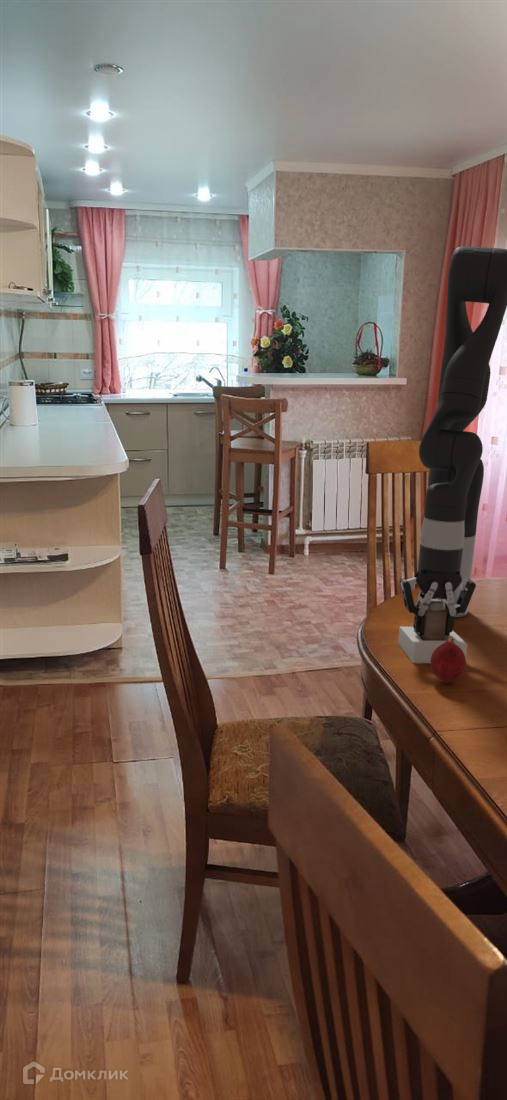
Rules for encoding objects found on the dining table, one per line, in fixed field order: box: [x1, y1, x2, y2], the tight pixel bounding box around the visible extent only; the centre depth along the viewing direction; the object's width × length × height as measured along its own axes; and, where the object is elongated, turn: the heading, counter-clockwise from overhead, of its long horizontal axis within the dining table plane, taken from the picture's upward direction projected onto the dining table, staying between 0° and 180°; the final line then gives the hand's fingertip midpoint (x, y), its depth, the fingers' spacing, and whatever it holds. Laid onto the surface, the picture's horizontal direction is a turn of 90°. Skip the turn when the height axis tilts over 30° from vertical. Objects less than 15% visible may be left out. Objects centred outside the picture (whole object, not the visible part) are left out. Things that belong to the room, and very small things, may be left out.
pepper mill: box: [420, 599, 447, 641], centre depth 153 cm, size 4×4×10 cm
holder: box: [397, 626, 468, 664], centre depth 154 cm, size 10×10×4 cm
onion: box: [430, 637, 467, 684], centre depth 140 cm, size 6×6×8 cm
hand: (432, 633), depth 153 cm, fingers closed on pepper mill, 4 cm apart
